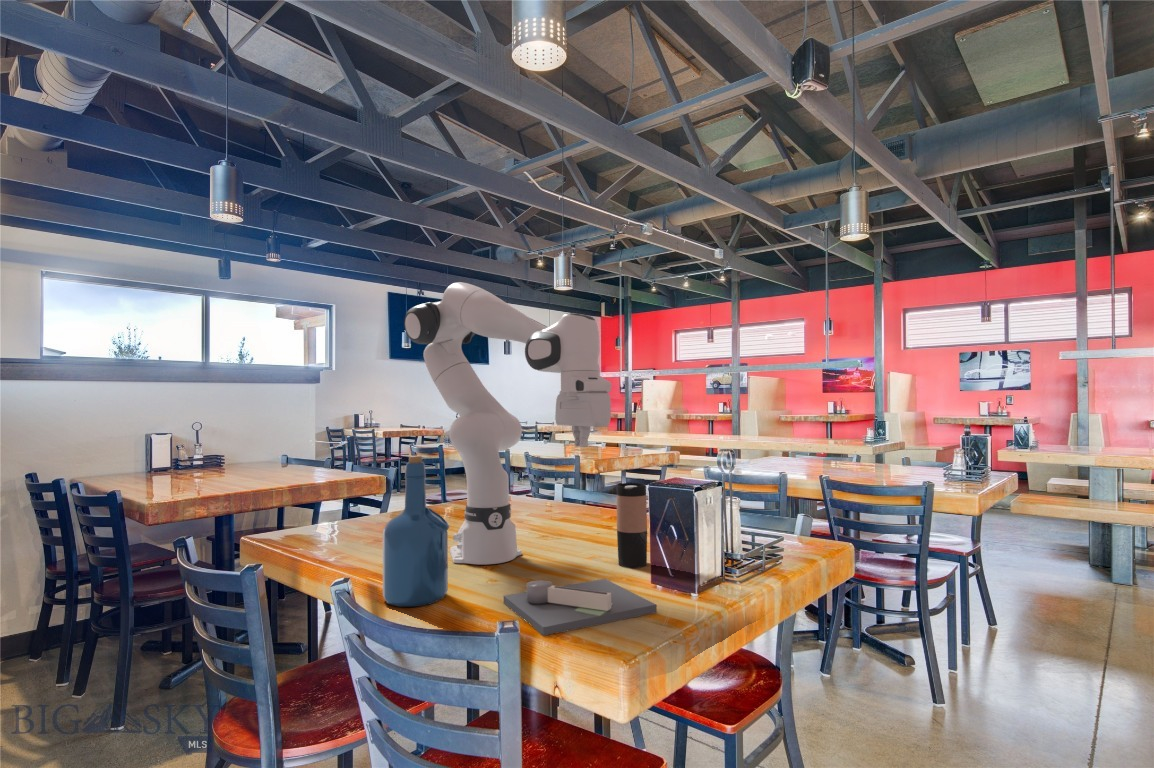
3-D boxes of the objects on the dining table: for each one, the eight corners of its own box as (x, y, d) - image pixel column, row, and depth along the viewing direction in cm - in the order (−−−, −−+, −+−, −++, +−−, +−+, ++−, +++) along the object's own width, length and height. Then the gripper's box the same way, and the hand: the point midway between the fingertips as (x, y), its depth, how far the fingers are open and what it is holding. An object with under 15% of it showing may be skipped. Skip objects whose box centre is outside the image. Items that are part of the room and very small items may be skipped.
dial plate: (503, 602, 121) (503, 594, 121) (604, 585, 132) (604, 577, 132) (543, 636, 103) (543, 626, 103) (657, 612, 114) (656, 603, 114)
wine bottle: (379, 611, 117) (379, 459, 118) (386, 591, 130) (386, 454, 131) (449, 605, 120) (448, 457, 121) (449, 586, 132) (449, 452, 134)
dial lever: (534, 594, 120) (534, 579, 120) (614, 605, 113) (614, 589, 113) (522, 601, 116) (521, 586, 116) (604, 613, 108) (604, 597, 108)
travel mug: (636, 558, 154) (635, 482, 155) (653, 565, 148) (652, 485, 149) (611, 562, 151) (610, 484, 152) (628, 569, 144) (626, 487, 145)
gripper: (548, 386, 140) (549, 444, 139) (589, 382, 122) (590, 449, 121) (572, 386, 143) (572, 443, 142) (615, 383, 125) (616, 448, 124)
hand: (581, 446), depth 132 cm, fingers closed
